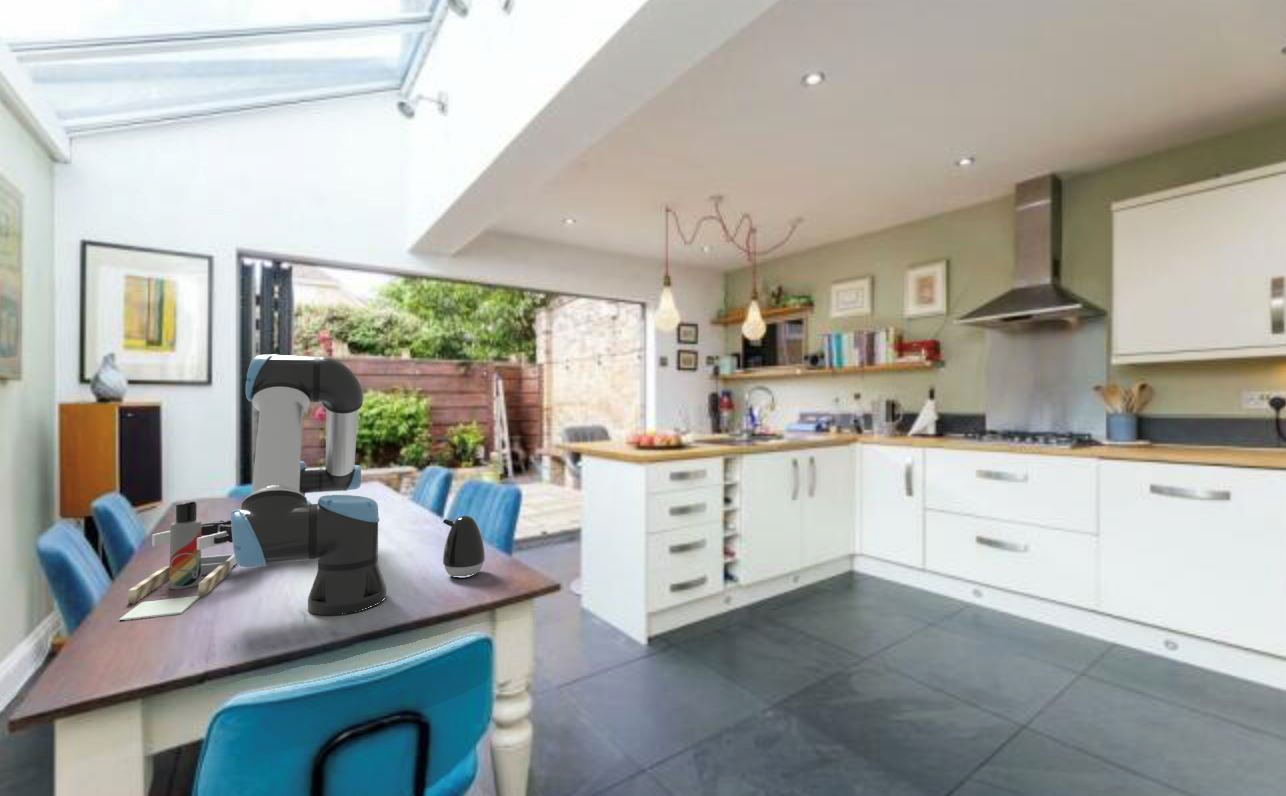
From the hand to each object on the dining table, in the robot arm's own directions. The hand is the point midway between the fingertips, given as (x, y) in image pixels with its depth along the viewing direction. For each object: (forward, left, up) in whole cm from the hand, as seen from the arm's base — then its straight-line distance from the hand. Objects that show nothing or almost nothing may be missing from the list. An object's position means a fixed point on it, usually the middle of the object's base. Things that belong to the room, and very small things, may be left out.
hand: (175, 542), depth 126 cm
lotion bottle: (+2, -1, -11) cm, 11 cm away
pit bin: (+14, -1, -11) cm, 18 cm away
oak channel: (+1, -1, -11) cm, 11 cm away
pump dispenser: (-15, -63, -11) cm, 66 cm away
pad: (-14, -2, -11) cm, 18 cm away
